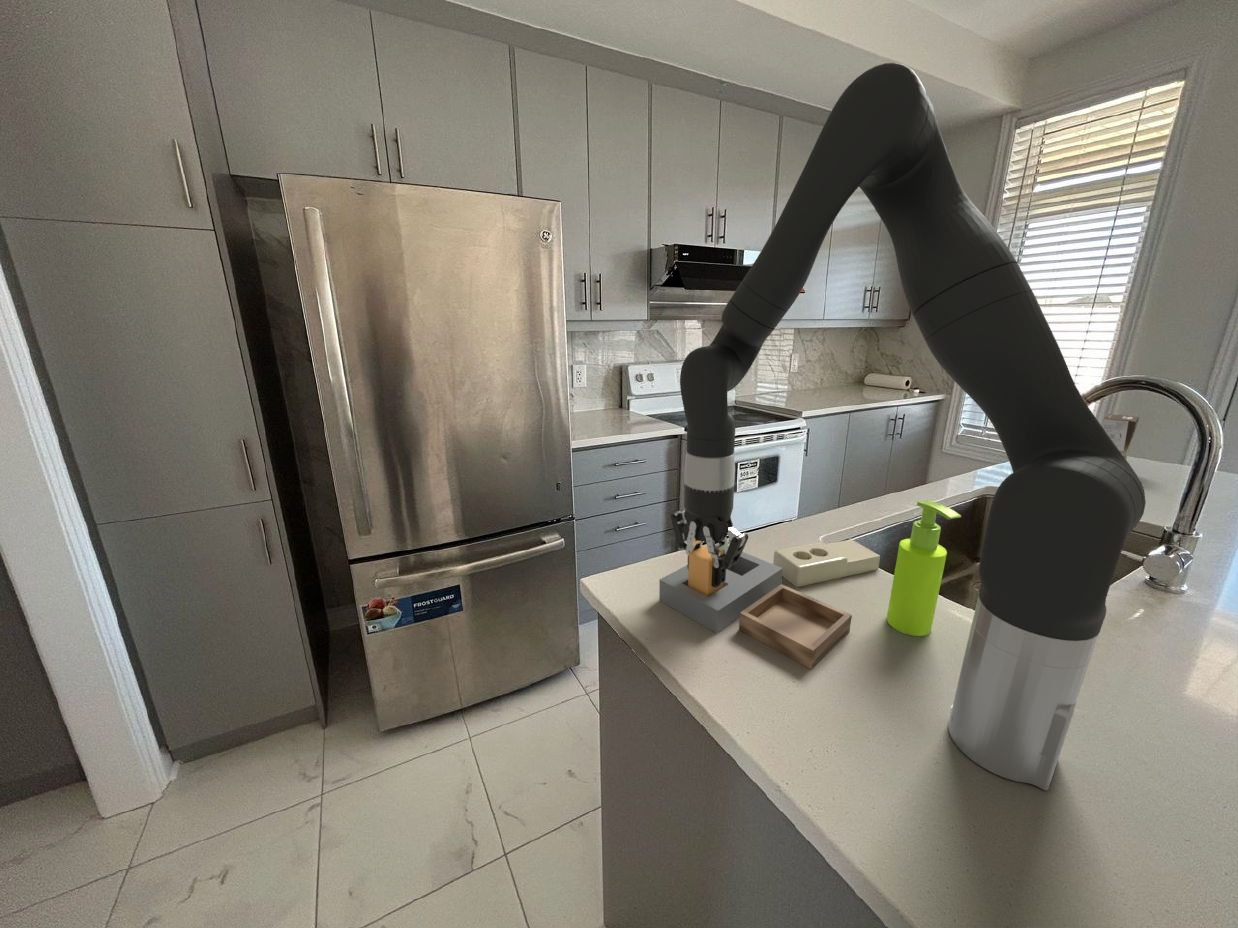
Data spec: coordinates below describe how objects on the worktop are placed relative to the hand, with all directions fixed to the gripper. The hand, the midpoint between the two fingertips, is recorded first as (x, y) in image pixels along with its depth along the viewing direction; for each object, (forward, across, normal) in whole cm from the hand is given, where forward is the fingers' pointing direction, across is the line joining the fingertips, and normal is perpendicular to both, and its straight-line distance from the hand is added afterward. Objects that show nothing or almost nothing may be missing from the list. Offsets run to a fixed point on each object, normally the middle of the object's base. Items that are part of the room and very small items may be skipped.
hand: (705, 579), depth 78 cm
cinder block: (+5, 0, -5) cm, 7 cm away
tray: (+5, -13, -4) cm, 15 cm away
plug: (+4, 0, 0) cm, 4 cm away
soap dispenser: (+5, -25, -18) cm, 31 cm away
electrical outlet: (+6, -8, -26) cm, 27 cm away
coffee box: (+5, -37, -134) cm, 140 cm away
